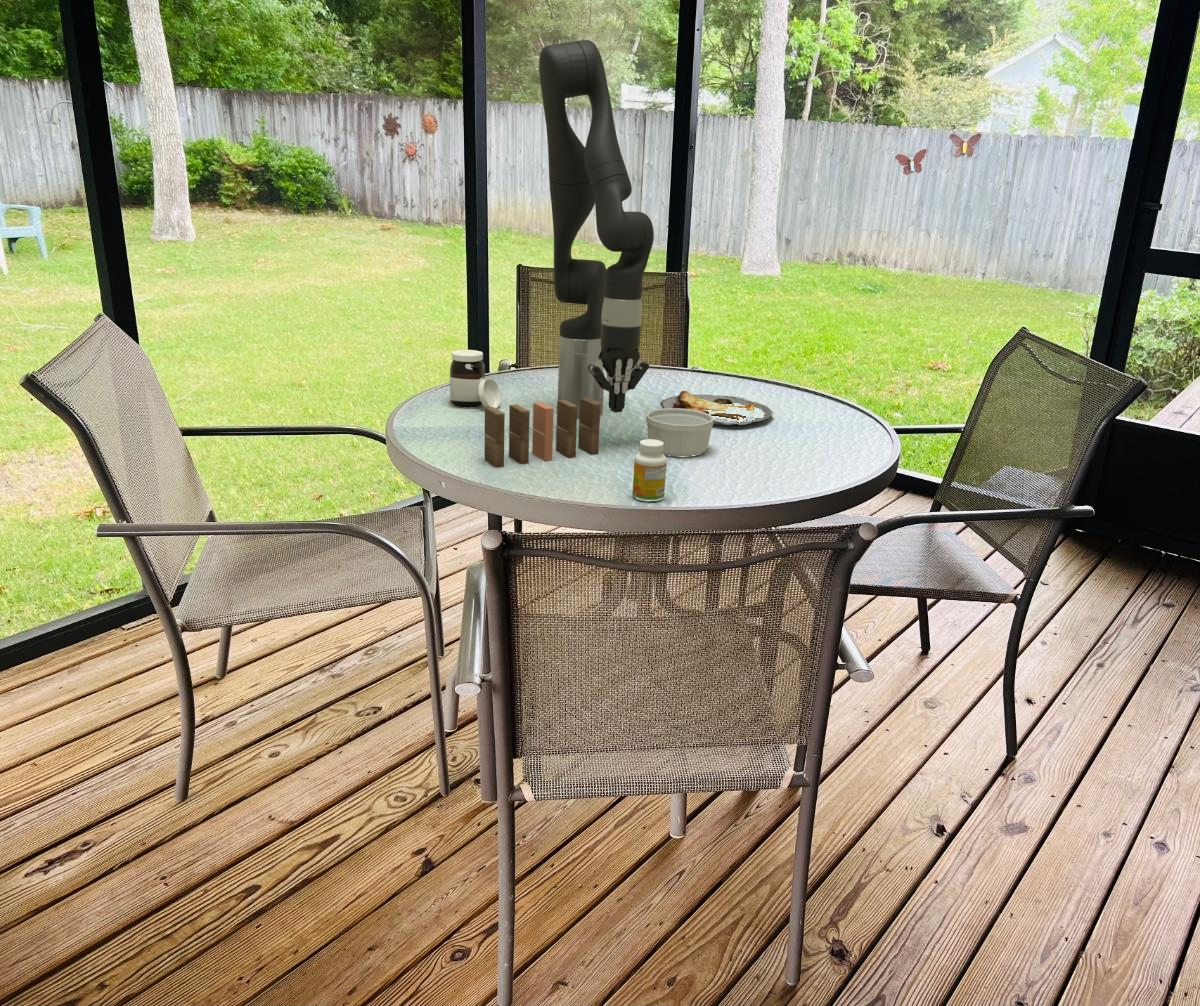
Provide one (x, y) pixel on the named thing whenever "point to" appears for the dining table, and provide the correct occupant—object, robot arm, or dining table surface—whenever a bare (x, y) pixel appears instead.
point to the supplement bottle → (649, 471)
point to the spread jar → (471, 381)
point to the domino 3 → (542, 431)
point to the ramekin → (680, 430)
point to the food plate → (714, 405)
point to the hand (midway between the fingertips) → (616, 411)
